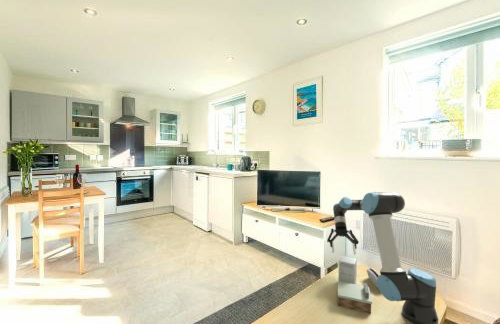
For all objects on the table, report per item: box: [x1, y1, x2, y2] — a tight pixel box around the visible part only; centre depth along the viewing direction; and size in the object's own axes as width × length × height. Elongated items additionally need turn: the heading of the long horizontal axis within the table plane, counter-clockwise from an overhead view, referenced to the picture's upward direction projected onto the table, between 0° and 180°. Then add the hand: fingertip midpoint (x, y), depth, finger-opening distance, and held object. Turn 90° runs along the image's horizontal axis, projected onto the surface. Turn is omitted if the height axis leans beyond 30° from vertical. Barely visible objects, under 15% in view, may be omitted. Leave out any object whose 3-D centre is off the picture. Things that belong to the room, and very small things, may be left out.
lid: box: [337, 281, 373, 305], centre depth 135 cm, size 17×15×4 cm
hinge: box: [366, 267, 381, 290], centre depth 153 cm, size 17×5×10 cm, turn 0°
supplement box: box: [337, 255, 358, 285], centre depth 151 cm, size 10×9×17 cm
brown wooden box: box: [337, 296, 372, 314], centre depth 135 cm, size 16×14×5 cm
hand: (344, 252), depth 161 cm, fingers open, 13 cm apart
